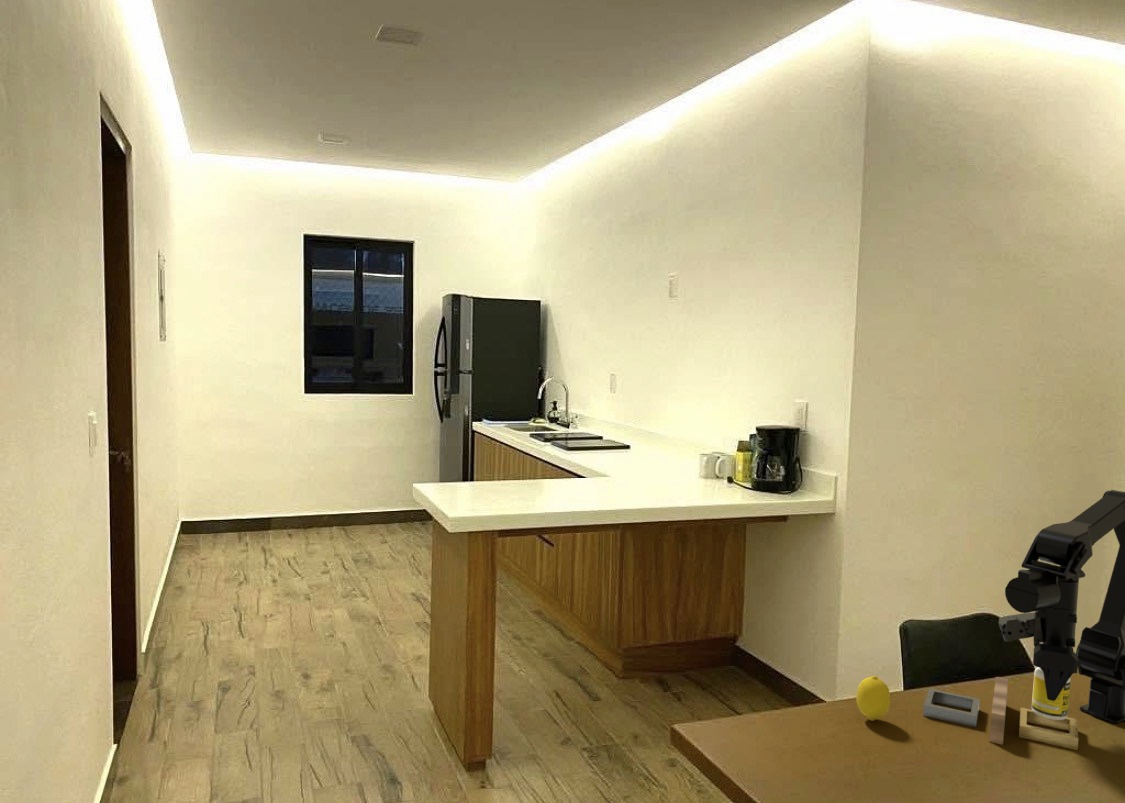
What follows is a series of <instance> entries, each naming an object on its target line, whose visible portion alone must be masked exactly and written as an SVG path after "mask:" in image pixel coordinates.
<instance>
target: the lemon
mask: <svg viewBox="0 0 1125 803" xmlns="http://www.w3.org/2000/svg"><path fill="white" fill-rule="evenodd" d="M855 698H856V700H855V701H856V704H857V708H858V709H859V711H860V712H861V714H862V715H863V716H865V717H867V718H868V719H869V721H871V722H874V721H875V720H877V719H880V718H881V719H882V718H883V717H884V716H885V715H887V713H888V711H889V709H890V705H891V693H890V690H889V687H888V685H887V684H886V682H884V681H883V680H882V679H881V678H879V677H878V676H876V675H872V676H869V677H866V678H864V679H863V680H861V681H860V683H859V685H858V687H857V690H856V697H855Z"/></svg>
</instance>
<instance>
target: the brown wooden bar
mask: <svg viewBox="0 0 1125 803" xmlns="http://www.w3.org/2000/svg"><path fill="white" fill-rule="evenodd" d="M1008 687H1009V679H1008V678H1005V677H1000V676H995V682H994V690H993V697H992V706H991V715H990V728H989V743H993V744H998V745H1001V746H1003V745H1004V736H1005V728H1006V726H1005V725H1006V713H1007V704H1008V703H1007V701H1008Z"/></svg>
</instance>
